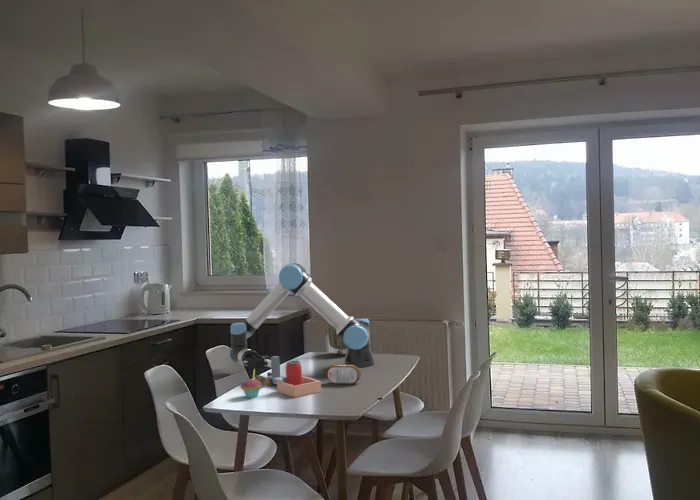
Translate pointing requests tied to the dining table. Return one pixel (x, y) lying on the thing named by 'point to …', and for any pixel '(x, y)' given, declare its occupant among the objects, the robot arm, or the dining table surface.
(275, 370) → the grey post stand
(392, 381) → the dining table surface
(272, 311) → the robot arm
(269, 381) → the launcher rail
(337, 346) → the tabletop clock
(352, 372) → the tin
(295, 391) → the cup corral
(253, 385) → the cupcake
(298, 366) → the beer can
